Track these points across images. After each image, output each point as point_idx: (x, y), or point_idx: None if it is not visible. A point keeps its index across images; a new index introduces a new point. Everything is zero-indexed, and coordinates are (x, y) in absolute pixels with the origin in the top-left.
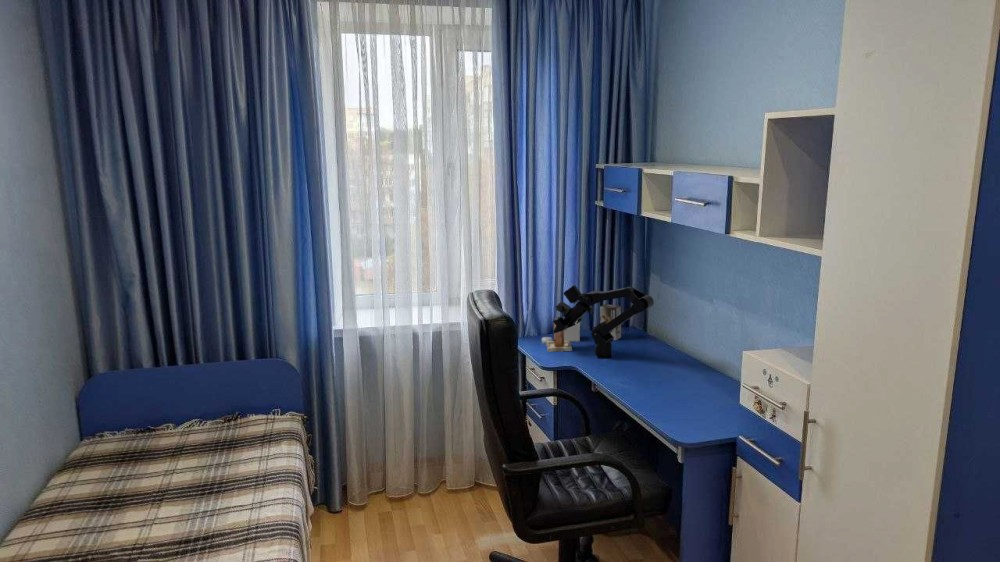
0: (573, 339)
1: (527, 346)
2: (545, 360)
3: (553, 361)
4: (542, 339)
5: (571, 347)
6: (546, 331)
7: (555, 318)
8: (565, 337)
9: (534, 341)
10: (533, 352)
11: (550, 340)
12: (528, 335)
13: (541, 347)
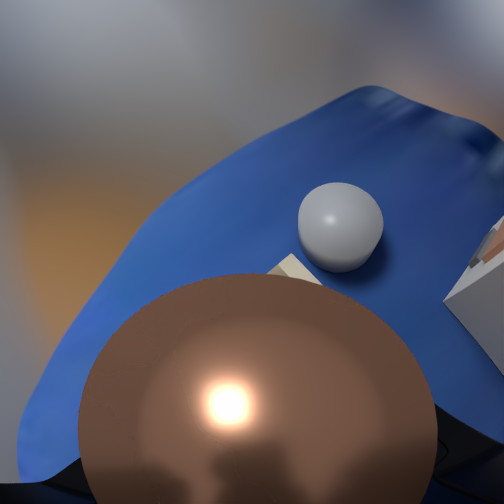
0: (494, 351)
1: (182, 196)
2: (31, 433)
3: (43, 476)
4: (300, 207)
5: None
6: (473, 121)
7: (269, 280)
8: (468, 307)
9: (301, 161)
10: (95, 301)
11: (337, 261)
12: (362, 92)
13: (214, 276)
